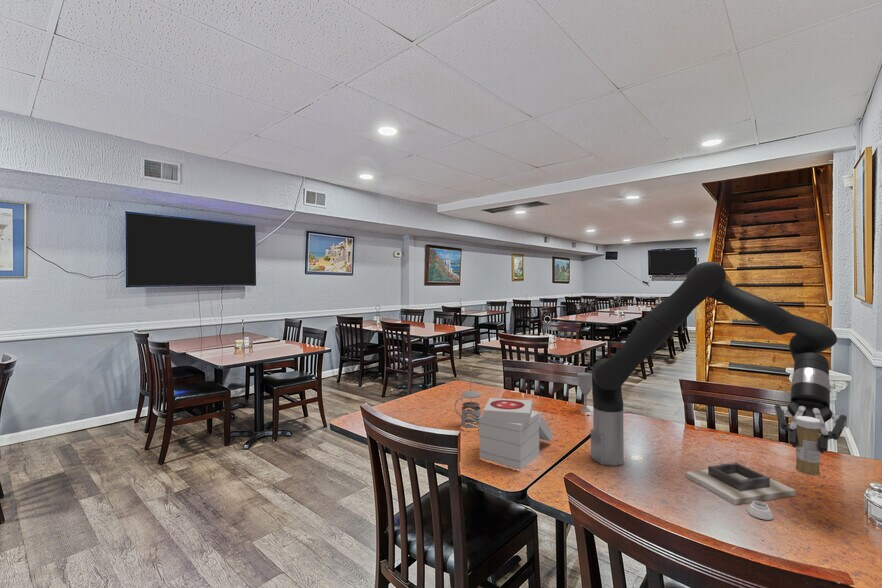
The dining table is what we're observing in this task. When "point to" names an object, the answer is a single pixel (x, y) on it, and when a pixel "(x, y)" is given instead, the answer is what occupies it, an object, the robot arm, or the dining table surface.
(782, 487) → the condiment holder
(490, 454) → the stack of boxes
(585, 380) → the chalice
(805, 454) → the sprinkles bottle
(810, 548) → the dining table surface
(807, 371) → the robot arm
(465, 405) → the french press
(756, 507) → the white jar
